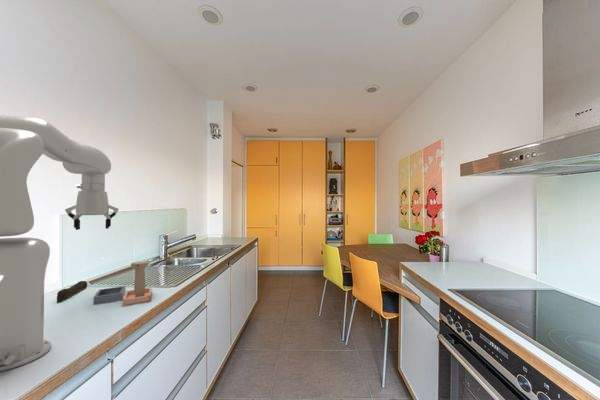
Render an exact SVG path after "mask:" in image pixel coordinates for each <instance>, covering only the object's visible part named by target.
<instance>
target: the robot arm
mask: <svg viewBox="0 0 600 400" xmlns="http://www.w3.org/2000/svg"><path fill="white" fill-rule="evenodd" d="M42 155H44V156H45V157H48V158H49V159H51V160H53V161H57V162H61V163H62V167H63V169H65V171H66V172H69V173H70V174H74V175H81V182H80V184H76V189H80V190H78V193H77V196H76V202H75V204H74V205H72V206H71V207H68V208H65V209H64V211H65V213H66V215H67V216H68V217H69V218H71V219H72V220H73V228H74V229H75V230H76V231H79V230H80V229H81V220H80V218H81V217H82V216H104V217H105V229H107V230H108V229H110V228H111V227H112V225H111V223H112V222H111V221H112V218H113V217H115V216H116V215H117V213H118V212H119V208H117V207H115V206H113V205H111V204H109V199H108V198H109V197H108V192H107V191H106V187H105V186H106V175H107V174H108V173H109V172H110V171H111V170H112V163H111V160H110V159H109V156H107V155H106V153H104V152H103V151H101V150H100V149H98V148H96V147H92V146H90V145H86V144H85V143H82V142H79V141H76V140H73V139H71V138H69V137H68V136H67V135H65V134H64V133H63V132H61V131H60V129H58V128H56V127H55V126H54V125H52V124H51V123H50V122H48V121H46V120H44V119H42V118H38V117H37V118H36V117H31V116H29V117H28V116H17V115H7V114H6V115H5V114H4V115H3V114H0V237H2V238H0V276H3V277H2V279H1V280H0V372H3V371H7V370H11V369H14V368H18V367H20V366H23V365H26V364H28V363H31V362H34V361H35V360H37V359H39V358H40V357H43V356H44V355H45V354H46V353H48V352H49V351H50V350H51V348H52V342H51V341H50V340H46V339H44V329H45V328H44V326H45V325H44V324H45V322H44V321H45V315H44V314H45V279H46V272H47V267H48V262H49V260H50V259H49V258H50V254H51V247H50V245H49V243H48V242H46V241H45V240H43V239H40V238H37V237H14V236H21V235H24V234H26V233H29V232H30V231H31V230H32V229H33V228H34V225H35V217H34V212H33V211H34V210H33V207H32V202H31V198H30V197H31V196H30V194H29V190H28V183H27V182H28V176H29V173H30V171H31V170H32V168H34V165H35V164H36V163H37V162H38V160H39V159H40V158H41V156H42ZM74 210H75V214H74V213H73V212H72V211H74ZM110 210H112V211H113V212H112V213H111V214H110V213H109V211H110ZM4 237H5V238H4Z"/></svg>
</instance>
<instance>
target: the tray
mask: <svg viewBox="0 0 600 400" xmlns="http://www.w3.org/2000/svg"><path fill="white" fill-rule="evenodd" d="M152 288H153V287H145V293H144V296H141V297H135V291H134V289H132V290H125V295H124V297H123V300H121V301H122V302H121V303H122V305H121V306H122V307H126V306H133V305H138V304H145V302H146V303H150V301H152V292H153V291H152V290H153V289H152Z"/></svg>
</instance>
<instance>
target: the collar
mask: <svg viewBox="0 0 600 400" xmlns="http://www.w3.org/2000/svg"><path fill="white" fill-rule="evenodd" d="M125 293H126V285H124V286H115V287H109V288H100V289H98V291H97V292H96V293H95V294H94V296H93V298H92V299H93V301H92V303H93V304H92V305H93V306H94V305H95V306H96V305H101V304H107V303H114V302H120V301H122V300H123V297H124V295H125Z"/></svg>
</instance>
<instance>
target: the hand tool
mask: <svg viewBox="0 0 600 400" xmlns="http://www.w3.org/2000/svg"><path fill="white" fill-rule="evenodd" d="M87 288H88V283H87V281H85V280H80V281H78V282H77V283H75V284H73V285H70V287H68V288H62V289H61V290H59V291H57V294H56V295H57V296H56V303H57V304H58V303H62V302H64V301H66V300H68V299H69V298H70V297H71V296H73V295H75V294H76V293H78V292H80V291H82V290H84V289H85V290H86V289H87Z"/></svg>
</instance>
